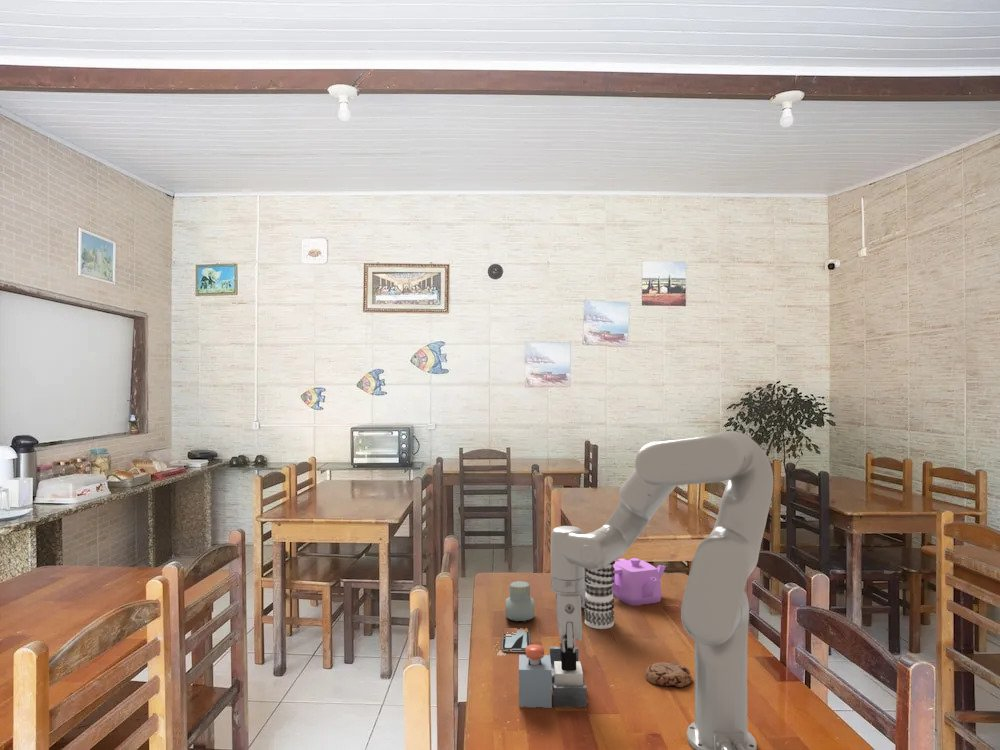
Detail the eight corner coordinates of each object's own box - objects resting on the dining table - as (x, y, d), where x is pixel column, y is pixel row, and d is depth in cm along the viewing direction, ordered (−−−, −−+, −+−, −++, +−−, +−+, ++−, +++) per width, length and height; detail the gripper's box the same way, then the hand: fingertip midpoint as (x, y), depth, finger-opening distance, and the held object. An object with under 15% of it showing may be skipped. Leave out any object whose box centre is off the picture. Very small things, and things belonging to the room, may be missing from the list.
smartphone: (529, 627, 169) (530, 649, 154) (529, 630, 169) (530, 653, 154) (503, 627, 169) (501, 649, 154) (503, 630, 169) (501, 653, 154)
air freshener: (534, 625, 171) (534, 590, 171) (505, 625, 171) (505, 590, 171) (533, 611, 182) (533, 578, 182) (506, 611, 182) (506, 578, 182)
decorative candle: (622, 626, 170) (621, 538, 170) (593, 631, 167) (593, 541, 167) (604, 614, 179) (604, 531, 179) (577, 619, 175) (577, 534, 175)
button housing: (551, 707, 128) (551, 670, 128) (519, 707, 128) (518, 669, 128) (550, 690, 135) (550, 655, 135) (519, 690, 135) (519, 654, 135)
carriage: (585, 695, 130) (585, 646, 130) (552, 694, 131) (552, 646, 131) (583, 681, 136) (582, 635, 136) (551, 680, 137) (551, 634, 137)
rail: (586, 707, 128) (586, 688, 128) (553, 706, 128) (553, 687, 128) (578, 663, 148) (577, 646, 148) (549, 662, 148) (549, 646, 148)
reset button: (544, 678, 129) (544, 652, 129) (525, 678, 129) (525, 652, 130) (543, 669, 133) (543, 644, 133) (525, 669, 133) (525, 644, 134)
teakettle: (617, 585, 205) (616, 549, 205) (667, 593, 197) (667, 555, 197) (602, 602, 189) (602, 562, 189) (656, 610, 182) (656, 570, 182)
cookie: (637, 674, 143) (637, 661, 143) (674, 666, 147) (674, 654, 147) (662, 694, 134) (661, 680, 134) (700, 685, 137) (700, 672, 137)
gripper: (588, 596, 125) (589, 684, 125) (581, 571, 142) (581, 649, 142) (552, 596, 126) (553, 683, 125) (549, 571, 142) (549, 649, 142)
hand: (568, 664), depth 134 cm, fingers closed on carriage, 3 cm apart
